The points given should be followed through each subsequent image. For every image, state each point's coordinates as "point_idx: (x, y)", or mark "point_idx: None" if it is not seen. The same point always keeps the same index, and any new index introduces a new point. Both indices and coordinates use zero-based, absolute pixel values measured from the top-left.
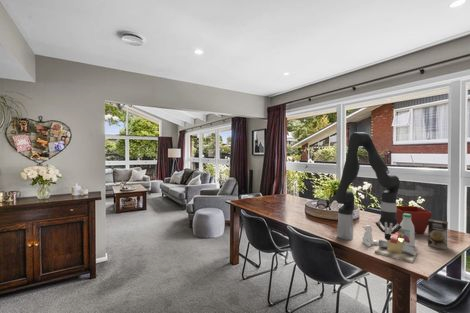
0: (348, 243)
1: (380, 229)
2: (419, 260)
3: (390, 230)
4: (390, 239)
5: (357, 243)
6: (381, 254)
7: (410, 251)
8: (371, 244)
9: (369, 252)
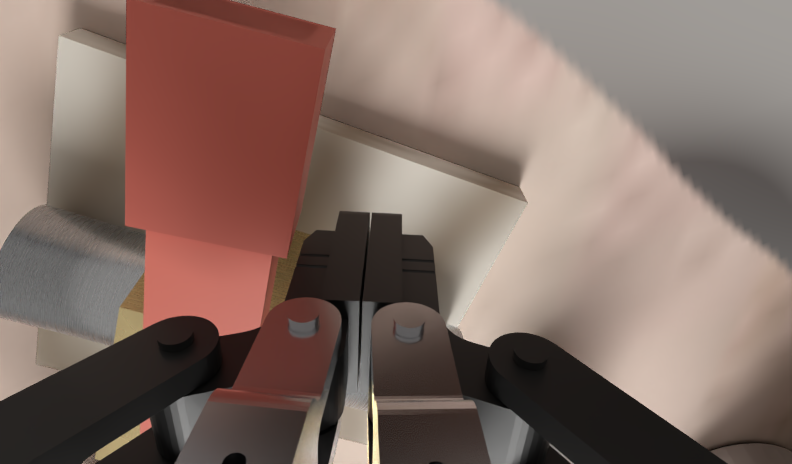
0: (760, 356)
1: (621, 399)
2: (13, 164)
3: (265, 395)
4: (322, 46)
5: (647, 390)
6: (445, 160)
7: (61, 226)
8: None
9: (584, 176)
